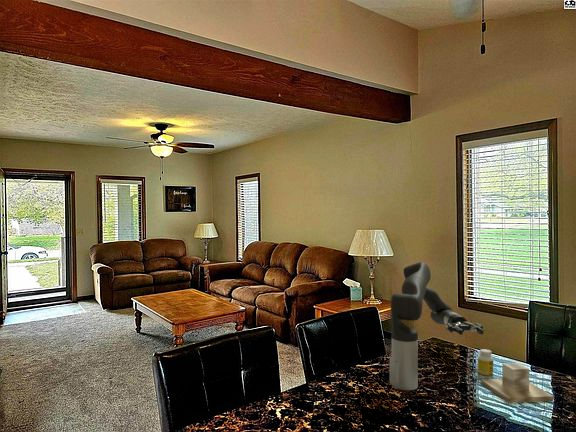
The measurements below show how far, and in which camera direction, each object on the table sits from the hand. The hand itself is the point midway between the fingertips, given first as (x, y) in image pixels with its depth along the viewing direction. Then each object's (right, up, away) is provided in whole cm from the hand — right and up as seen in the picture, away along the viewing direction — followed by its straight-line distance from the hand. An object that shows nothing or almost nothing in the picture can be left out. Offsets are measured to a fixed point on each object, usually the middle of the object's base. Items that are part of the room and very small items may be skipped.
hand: (472, 332), depth 173 cm
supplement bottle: (0, -14, -12) cm, 18 cm away
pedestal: (+4, -14, -26) cm, 30 cm away
